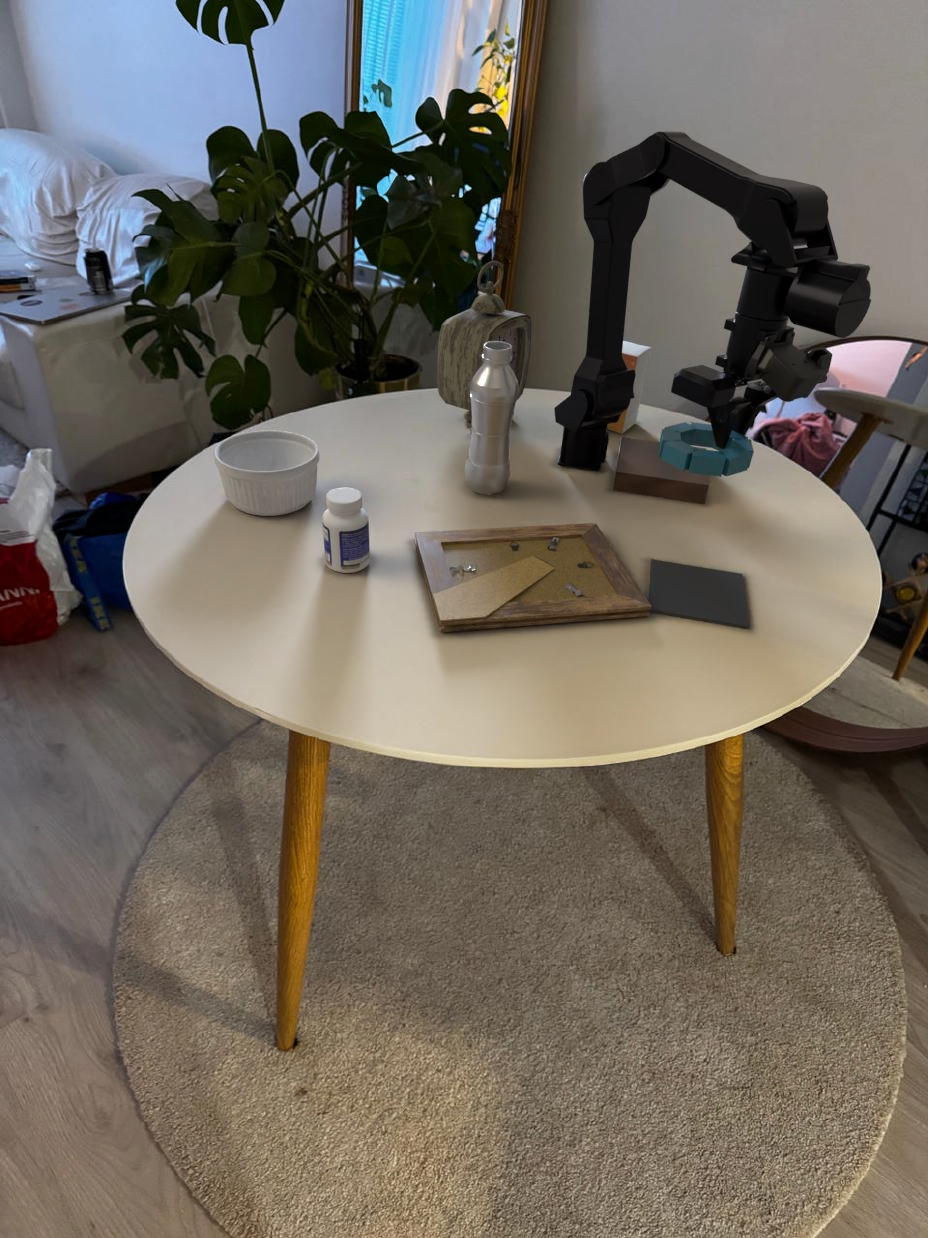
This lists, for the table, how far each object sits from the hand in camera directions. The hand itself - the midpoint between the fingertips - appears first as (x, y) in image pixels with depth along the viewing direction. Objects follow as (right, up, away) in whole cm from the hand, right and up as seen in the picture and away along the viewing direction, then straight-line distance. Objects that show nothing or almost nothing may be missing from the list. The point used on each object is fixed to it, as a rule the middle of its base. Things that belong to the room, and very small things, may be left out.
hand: (727, 445), depth 93 cm
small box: (-8, +12, +36) cm, 39 cm away
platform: (-3, 0, +20) cm, 20 cm away
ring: (-4, -2, -2) cm, 4 cm away
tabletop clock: (-30, +11, +33) cm, 46 cm away
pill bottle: (-47, -15, -3) cm, 49 cm away
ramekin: (-58, -5, +8) cm, 59 cm away
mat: (-5, -18, -5) cm, 20 cm away
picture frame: (-25, -17, -4) cm, 31 cm away
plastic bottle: (-30, -3, +14) cm, 33 cm away
